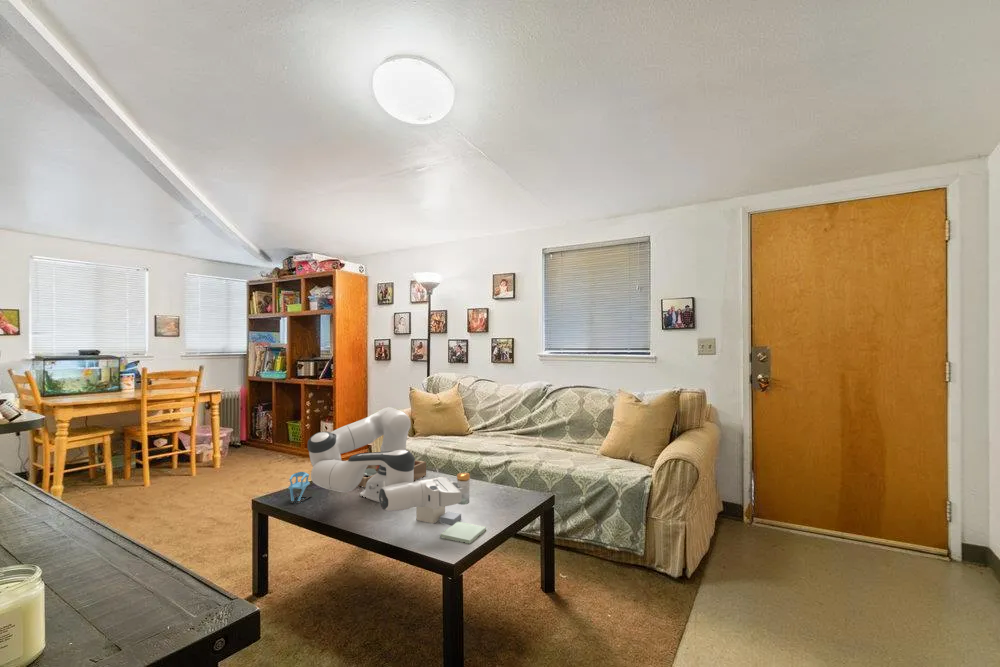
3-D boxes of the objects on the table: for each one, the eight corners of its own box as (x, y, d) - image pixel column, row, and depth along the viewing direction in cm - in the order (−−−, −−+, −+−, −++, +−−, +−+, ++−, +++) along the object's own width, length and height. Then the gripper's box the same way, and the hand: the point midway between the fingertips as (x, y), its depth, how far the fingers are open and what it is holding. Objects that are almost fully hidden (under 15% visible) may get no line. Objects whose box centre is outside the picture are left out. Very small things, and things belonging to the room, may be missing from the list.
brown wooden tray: (334, 482, 224) (334, 472, 224) (364, 470, 243) (364, 462, 243) (367, 488, 214) (367, 478, 214) (396, 475, 233) (396, 466, 234)
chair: (285, 504, 194) (285, 476, 194) (295, 497, 203) (295, 470, 203) (303, 504, 194) (302, 476, 194) (312, 497, 202) (312, 470, 202)
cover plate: (439, 523, 173) (439, 516, 173) (447, 517, 179) (447, 511, 179) (453, 525, 171) (453, 519, 171) (461, 520, 176) (461, 513, 176)
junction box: (416, 520, 176) (416, 484, 176) (428, 512, 183) (428, 479, 183) (434, 523, 172) (434, 487, 172) (445, 516, 179) (445, 481, 179)
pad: (440, 537, 160) (440, 534, 160) (457, 524, 171) (457, 521, 171) (469, 543, 155) (469, 540, 155) (486, 530, 166) (485, 527, 166)
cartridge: (454, 503, 162) (454, 475, 162) (460, 499, 166) (460, 472, 166) (466, 505, 160) (466, 477, 160) (471, 501, 164) (471, 473, 164)
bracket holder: (385, 482, 222) (384, 468, 222) (408, 472, 238) (408, 459, 238) (403, 486, 217) (403, 471, 217) (426, 475, 233) (426, 461, 233)
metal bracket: (368, 472, 222) (354, 466, 232) (365, 484, 220) (351, 477, 231) (393, 474, 231) (378, 468, 242) (390, 485, 230) (376, 479, 241)
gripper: (420, 492, 167) (456, 487, 173) (436, 511, 148) (475, 504, 154) (420, 475, 167) (456, 470, 173) (435, 492, 148) (475, 486, 154)
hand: (465, 486), depth 163 cm, fingers closed on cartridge, 4 cm apart
